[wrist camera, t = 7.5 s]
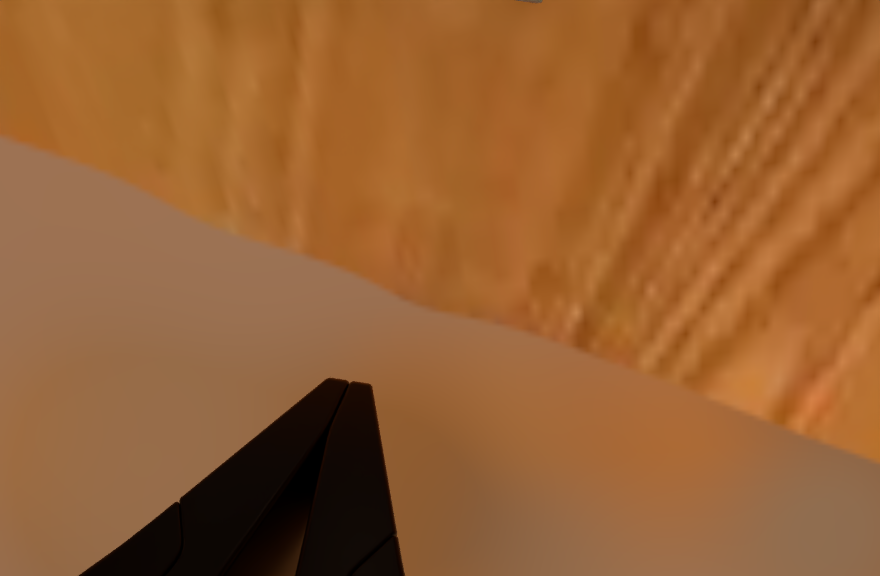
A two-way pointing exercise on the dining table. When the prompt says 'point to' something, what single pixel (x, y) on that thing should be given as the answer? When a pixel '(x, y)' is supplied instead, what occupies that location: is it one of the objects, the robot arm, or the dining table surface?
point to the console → (532, 1)
